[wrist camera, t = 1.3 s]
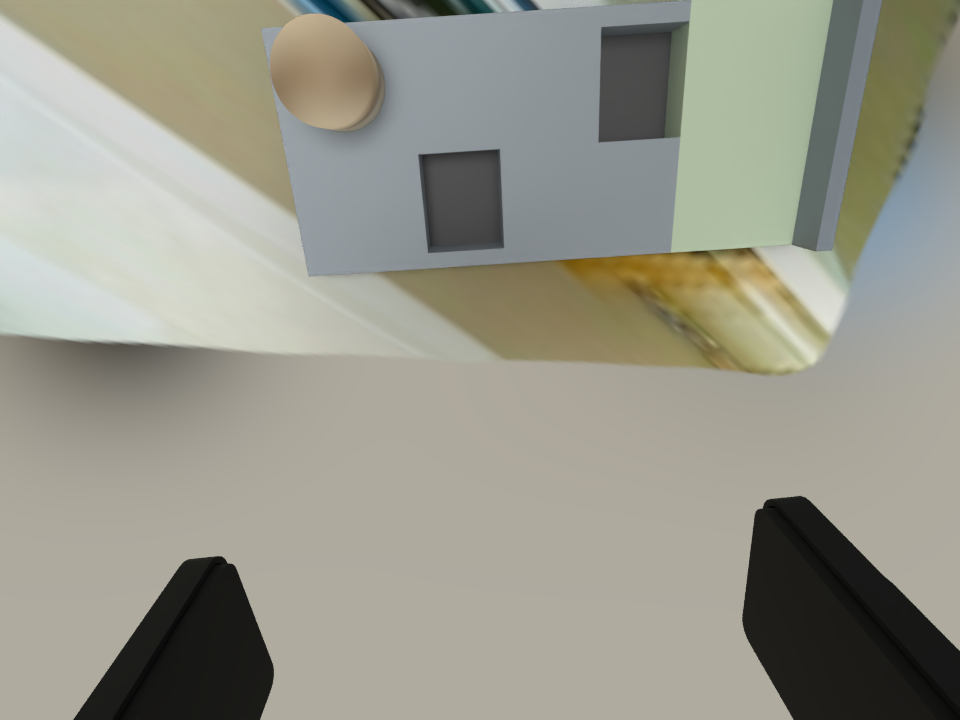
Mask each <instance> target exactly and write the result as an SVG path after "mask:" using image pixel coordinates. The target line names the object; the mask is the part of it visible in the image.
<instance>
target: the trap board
mask: <svg viewBox="0 0 960 720" xmlns="http://www.w3.org/2000/svg"><path fill="white" fill-rule="evenodd" d="M881 5H882V0H684V1H669V2H654V3H639V4H623V5H608V6H593V7H578V8H563V9H548V10H532V11H517V12H502V13H487V14H472V15H457V16H441V17H426V18H411V19H396V20H381V21H365V22H350V23H344V24H346V25H347V26H348V27H349V28H350V29H351V30H352V31H353V32H354V33H355V34H356V35H357V36H358V37H359V38H360V39H361V40H362V41H363V43H364V44H365V45H366V46H367V47H368V48H369V49H370V50H371V51H372V52H373V54H374V55H375V56H376V58H377V60H378V62H379V63H380V66H381V68H382V71H383V74H384V80H385V96H384V101H383V104H382V107H381V109H380V112H379V113H378V115H377V116H376V117H375V119H374V120H373V121H372V122H371V123H370V124H368V125H367V126H365V127H364V128H361V129H359V130H356V131H351V132H341V131H335V130H329V129H324V128H318V127H314V126H311V125H308V124H306V123H304V122H302V121H301V120H299V119H298V118H296V117H295V116H294V115H292V114H291V113H290V112H289V111H288V110H287V108H286V107H285V106H284V105H283V103H282V102H281V100H280V99H279V97H278V95H277V93H276V91H275V89H274V86H273V83H272V87H273V92H274V98H275V103H276V108H277V113H278V119H279V124H280V129H281V134H282V139H283V145H284V150H285V155H286V160H287V166H288V171H289V176H290V181H291V186H292V192H293V197H294V202H295V207H296V213H297V218H298V223H299V228H300V233H301V239H302V244H303V249H304V254H305V260H306V265H307V270H308V275H309V276H323V275H338V274H354V273H369V272H384V271H399V270H414V269H430V268H445V267H460V266H475V265H490V264H506V263H521V262H536V261H551V260H566V259H582V258H597V257H612V256H627V255H642V254H658V253H673V252H688V251H703V250H718V249H734V248H749V247H764V246H779V245H795V246H798V247H802V248H805V249H809V250H813V251H830V250H832V248H833V243H834V238H835V233H836V228H837V223H838V218H839V213H840V208H841V203H842V198H843V193H844V189H845V184H846V179H847V174H848V169H849V164H850V159H851V154H852V149H853V144H854V139H855V134H856V129H857V124H858V119H859V114H860V109H861V104H862V99H863V94H864V89H865V84H866V79H867V74H868V69H869V64H870V59H871V54H872V49H873V44H874V39H875V34H876V29H877V24H878V20H879V15H880V10H881ZM282 28H283V27H274V28H261V30H262V35H263V40H264V45H265V51H266V56H267V61H268V66H269V72H270V54H271V50H272V46H273V43H274V40H275V39H276V37H277V35H278V33H279V32H280V31H281V29H282ZM270 77H271V74H270ZM271 82H272V79H271Z"/></svg>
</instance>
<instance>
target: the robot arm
mask: <svg viewBox="0 0 960 720" xmlns="http://www.w3.org/2000/svg"><path fill="white" fill-rule="evenodd" d="M742 621H743V627H744V631H745V634H746V637H747V639H748V641H749V643H750V645H751V646H752V648H753V650H754V652H755V653H756V655H757V657H758V659H759V660H760V662H761V664H762V666H763V667H764V669H765V671H766V672H767V674H768V676H769V678H770V679H771V681H772V683H773V685H774V686H775V688H776V690H777V691H778V693H779V695H780V697H781V698H782V700H783V702H784V704H785V705H786V707H787V709H788V710H789V712H790V714H791V716H792V717H793V719H794V720H960V651H959V650H958V649H957V648H956V647H955V646H954V645H953V644H952V643H951V642H950V641H949V640H948V639H947V638H946V637H945V636H944V635H943V634H942V633H941V632H940V631H939V630H938V629H937V628H936V627H935V626H934V625H933V624H932V623H931V622H930V621H929V620H928V619H927V618H926V617H925V616H924V615H923V614H922V613H921V612H920V611H919V610H918V608H917V607H916V606H915V605H914V604H913V603H912V602H911V601H909V599H908V598H907V597H906V596H905V595H904V594H903V593H902V592H901V591H900V590H899V589H898V588H897V587H896V586H895V585H894V584H893V583H892V582H890V581H889V580H888V579H887V578H885V577H884V576H883V575H882V574H881V573H880V572H879V571H878V570H877V569H876V568H875V567H874V566H873V565H872V564H871V563H870V562H869V561H868V560H867V559H866V557H865V556H864V555H863V554H862V553H861V552H860V551H859V550H858V549H857V548H856V547H855V546H854V545H853V544H852V543H851V542H850V541H849V540H848V539H847V538H846V537H845V536H844V535H843V534H842V533H841V532H840V531H839V530H838V529H837V528H836V527H835V526H834V525H833V524H832V523H831V522H830V521H829V520H828V519H827V518H826V517H825V516H824V515H823V514H822V513H821V512H820V511H819V510H818V509H817V508H816V507H815V506H814V505H813V504H812V503H811V502H810V501H809V500H808V499H807V498H805V497H802V496H796V497H787V498H777V499H769V500H767V501H766V502H765V503H764V506H763V509H758V510H757V511H756V513H755V518H754V526H753V535H752V543H751V551H750V560H749V568H748V576H747V584H746V592H745V600H744V609H743V617H742ZM273 677H274V668H273V663H272V661H271V658H270V656H269V653H268V650H267V648H266V645H265V643H264V640H263V637H262V635H261V632H260V630H259V627H258V624H257V622H256V619H255V616H254V614H253V611H252V608H251V606H250V604H249V601H248V598H247V595H246V593H245V590H244V588H243V585H242V582H241V580H240V577H239V574H238V572H237V569H236V567H235V566H234V565H233V564H228V563H227V562H226V560H225V559H224V558H223V557H220V556H216V557H207V558H197V559H189V560H186V561H185V562H183V564H182V565H181V566H180V567H179V569H178V570H177V571H176V573H175V574H174V576H173V577H172V578H171V580H170V581H169V583H168V584H167V586H166V587H165V589H164V590H163V591H162V593H161V594H160V596H159V597H158V599H157V600H156V601H155V603H154V604H153V606H152V607H151V609H150V610H149V612H148V613H147V614H146V616H145V617H144V619H143V621H142V622H141V623H140V625H139V626H138V627H137V629H136V630H135V632H134V633H133V635H132V636H131V637H130V639H129V641H128V642H127V643H126V645H125V646H124V648H123V649H122V650H121V652H120V653H119V655H118V656H117V658H116V659H115V660H114V662H113V663H112V665H111V666H110V668H109V669H108V671H107V672H106V673H105V675H104V677H103V678H102V679H101V681H100V682H99V683H98V685H97V686H96V688H95V689H94V691H93V692H92V694H91V695H90V696H89V698H88V699H87V701H86V702H85V704H84V705H83V707H82V708H81V709H80V711H79V712H78V714H77V715H76V717H75V718H74V720H260V718H261V715H262V713H263V710H264V707H265V704H266V702H267V699H268V696H269V693H270V690H271V688H272V684H273Z"/></svg>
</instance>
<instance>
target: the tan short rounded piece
mask: <svg viewBox="0 0 960 720" xmlns="http://www.w3.org/2000/svg"><path fill="white" fill-rule="evenodd" d="M270 74H271V79H272V83H273V86H274V89H275V91H276V93H277V95H278V97H279V99H280V100H281V102H282V103H283V105H284V106H285V107H286V108H287V110H288V111H289V112H290V113H291V114H292V115H294V116H295V117H296V118H298V119H299V120H301V121H302V122H304V123H306V124H308V125H311V126H314V127H318V128H324V129H329V130H335V131H341V132H351V131H356V130H359V129H361V128H364V127H365V126H367V125H368V124H370V123H371V122H372V121H373V120H374V119H375V117H376V116H377V115H378V113H379V112H380V109H381V107H382V104H383V101H384V96H385V80H384V74H383V71H382V68H381V66H380V63H379V62H378V60H377V58H376V56H375V55H374V54H373V52H372V51H371V50H370V49H369V48H368V47H367V46H366V45H365V44H364V43H363V41H362V40H361V39H360V38H359V37H358V36H357V35H356V34H355V33H354V32H353V31H352V30H351V29H350V28H349V27H348V26H347V25H346V24H344V23H343V22H341V21H340V20H338V19H336V18H334V17H331V16H328V15H324V14H305V15H302V16H299V17H297V18H295V19H293V20H291V21H290V22H288V23H287V24H286V25H285V26H284V27H283V28H282V29H281V31H280V32H279V33H278V35H277V37H276V39H275V40H274V43H273V46H272V50H271V54H270Z"/></svg>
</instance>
